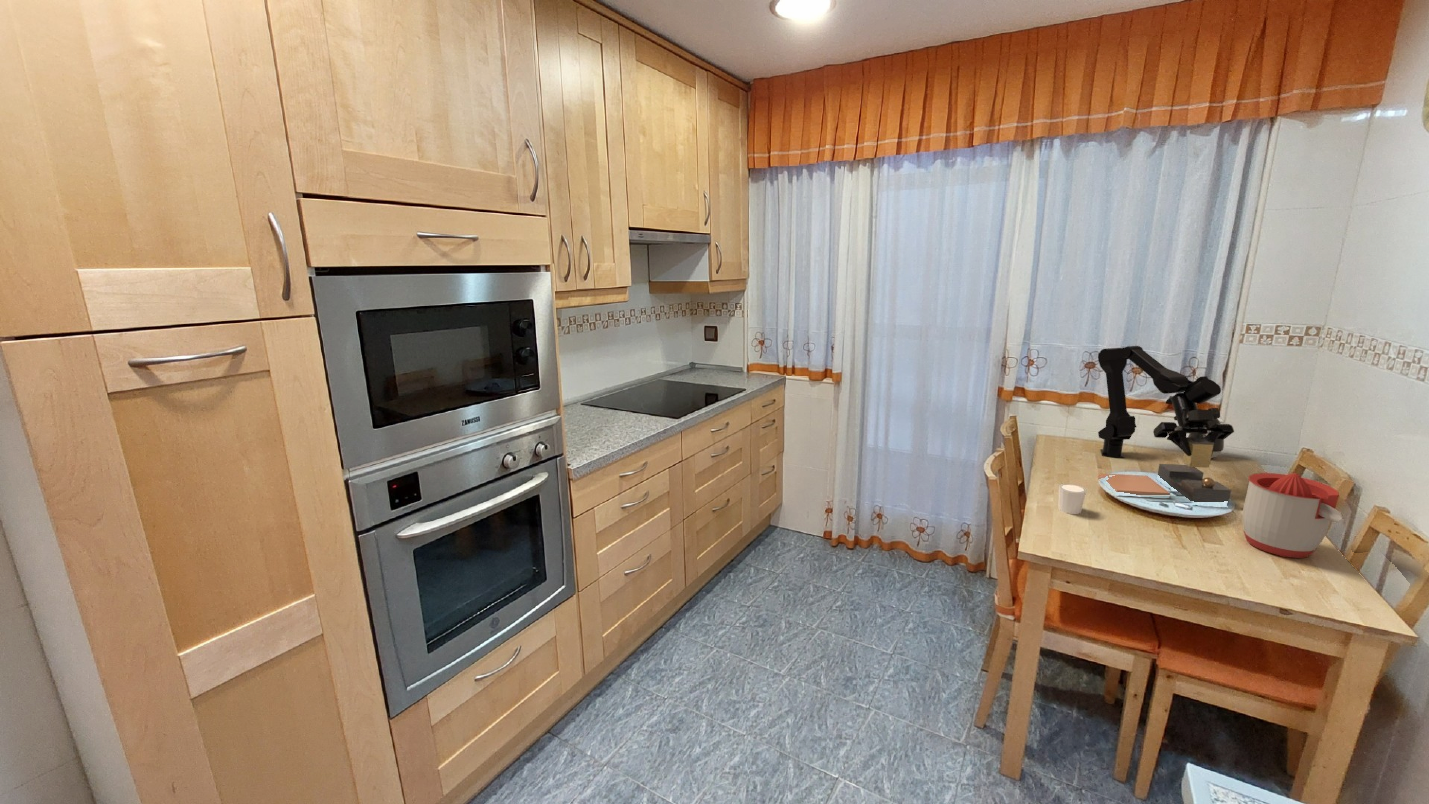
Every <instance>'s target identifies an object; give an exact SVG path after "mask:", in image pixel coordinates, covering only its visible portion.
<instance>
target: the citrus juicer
mask: <svg viewBox="0 0 1429 804" xmlns="http://www.w3.org/2000/svg"><path fill="white" fill-rule="evenodd" d="M1246 490H1247V491H1246V494H1245V495H1246V496H1245V499H1244V505H1243V508H1242V509H1243V510H1242V526H1243V533H1244V537H1245V540H1246V542H1248V544H1250V545H1251V546H1253V547H1255V548H1257V549H1259V550H1260V551H1264V552H1266V553H1269V554H1272V555H1273V554H1274V555H1277V556H1279V557H1282V558H1297V559H1298V558H1300V559H1301V558H1307V557H1309V556H1311V555H1312V554H1313V553H1314V552H1315V551H1316V550H1317V549H1318V547H1319V545H1320V544H1322V542H1323V540H1324V539H1325V537H1326V535H1327V533H1328V530H1329V527H1330V523H1331V522H1333V523H1334V522H1340V521H1342V518H1343V515H1342V512H1340V511H1339V510H1337V509H1336V508H1337V503H1338V500H1339V496H1340V495H1339V491H1338V490H1336V489H1335V488H1334V487H1331V486H1330V485H1327V484H1325V483H1322V482H1320V481H1316V480H1312V479H1309V478H1307V477H1306V478H1305V477H1301V476H1300V475H1299V474H1298V473H1296V472H1291V473H1289V474H1284V473H1283V474H1282V473H1268V472H1262V473H1261V472H1259V473H1254V474H1251V475H1249V476H1248V487H1247V489H1246Z"/></svg>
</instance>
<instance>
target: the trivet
mask: <svg viewBox="0 0 1429 804" xmlns="http://www.w3.org/2000/svg"><path fill="white" fill-rule="evenodd" d="M1109 475H1115V476H1112V477H1109ZM1106 476H1108V478H1109V479H1108V480H1106V481H1107V482H1108V483H1109V484H1110V486H1111V487H1112V488H1113V489H1115V491H1116V492H1124V493H1130V494H1136V495H1171V492H1169V491H1168V490H1167V489H1165V488H1164V487H1163V486H1162V485H1160V484H1159V483H1158V482H1156V481H1155V480H1154V479H1153V478H1151V477H1150V476H1149V475H1143V474H1125V473H1124V474H1123V473H1122V474H1121V473H1102V472H1101V473H1100V472H1099V473H1098V476H1097V480H1099V479H1101V478H1105V477H1106Z"/></svg>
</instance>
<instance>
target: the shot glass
mask: <svg viewBox="0 0 1429 804" xmlns="http://www.w3.org/2000/svg"><path fill="white" fill-rule="evenodd" d="M1086 493H1087V489H1086V488H1085V487H1083V486H1081V485H1078V484H1072V483H1062V484H1059V486H1058V510H1059V511H1060V510H1061V512H1062V511H1063V513H1065V514H1068V513H1069V515H1080V514H1081V513H1082V510H1083V505H1084V502H1085V498H1086ZM1079 513H1080V514H1079Z"/></svg>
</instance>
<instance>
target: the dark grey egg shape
mask: <svg viewBox="0 0 1429 804" xmlns="http://www.w3.org/2000/svg"><path fill="white" fill-rule="evenodd" d="M1215 424H1222V423H1221V422H1220V420H1219V418H1217V419H1214V421H1208V424H1207V425H1204V428H1211V427H1212V426H1213V425H1215ZM1187 436H1188V437H1192V438H1204V437H1203V434H1192V433H1188V435H1187ZM1224 447H1225V439H1223V440H1215V442H1214V448H1213V454H1212V456H1211V459H1214V458H1217V457H1218V456H1220V454H1221V453H1222V451H1223V450H1224Z"/></svg>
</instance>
